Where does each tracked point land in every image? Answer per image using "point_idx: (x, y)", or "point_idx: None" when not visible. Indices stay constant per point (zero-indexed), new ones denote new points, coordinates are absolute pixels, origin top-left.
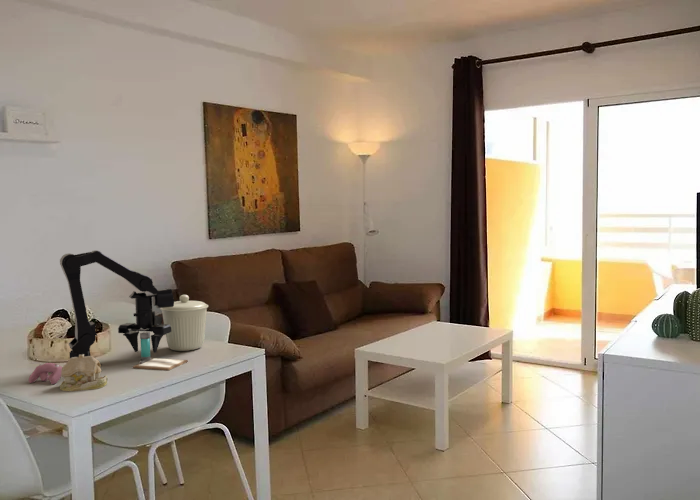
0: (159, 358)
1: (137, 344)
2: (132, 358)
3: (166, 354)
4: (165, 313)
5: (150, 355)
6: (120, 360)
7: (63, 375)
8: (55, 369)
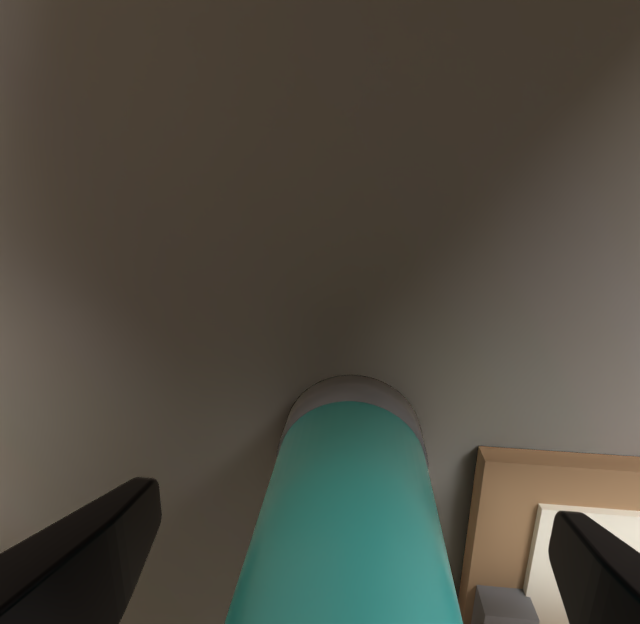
0: (608, 472)
1: (60, 582)
2: (123, 412)
3: (535, 48)
4: None
5: (419, 444)
6: (53, 519)
7: None
8: None
